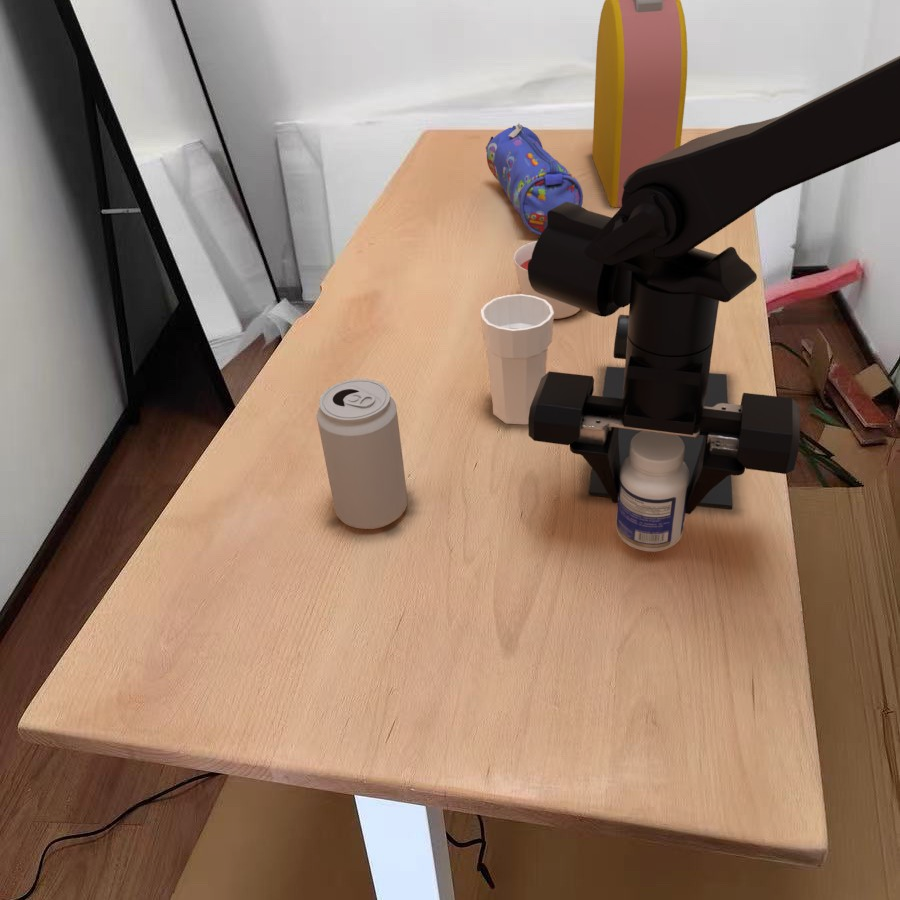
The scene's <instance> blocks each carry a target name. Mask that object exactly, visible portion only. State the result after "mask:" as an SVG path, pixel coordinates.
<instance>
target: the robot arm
mask: <svg viewBox="0 0 900 900" xmlns="http://www.w3.org/2000/svg"><path fill="white" fill-rule="evenodd" d="M898 143H900V55H898V56H897V57H895V58H893V59H891V60H888V61H886V62H884V63H882V64H880V65H879V66H876V67H874V68H873V69H871V70H869V71H867V72H865V73H863V74H861V75H859V76H857V77H855V78H853V79H851V80H849V81H846V82H845V83H843V84H840V85H839V86H837V87H835V88H833V89H831V90H829V91H827V92H825V93H823V94H821V95H819V96H817V97H815V98H813V99H811V100H809V101H808V102H805V103H803V104H801V105H799V106H797V107H795V108H793V109H791V110H790V111H787V112H786V113H784V114H781V115H780V116H775V117H772V118H769V119H765V120H761V121H758V122H752V123H746V124H740V125H736V126H732V127H729V128H726V129H723V130H719V131H716V132H712V133H708V134H704V135H701V136H698V137H696V138H693V139H691V140H689V141H687V142H685V143H684V144H682V145H680V147H678V148H676V149H674V150H672V151H670V152H669V153H667V154H665V155H663V156H661V157H659V158H657V159H656V160H654V161H652V162H650V163H648V164H646V165H644V166H643V167H641V168H639V169H637V170H636V171H634V172H633V173H632V174H631V175H630V176H629V177H628V178H627V180H626V181H625V183H624V184H623V189H624V191H623V196H622V207H619V209H618V210H617V211H616V212H615V214H614V215H613V216H612V217H611V216H608V215H604V214H601V213H597V212H594V211H590V210H588V209H586V208H585V207H583V206H582V207H581V206H579V205H576V204H573V203H569V202H564V203H562V204H561V205H559V206H557V207H555V208H553V209H551V210H549V211H548V212H547V227H546V228H545V229H544V231H543V232H542V233H541V235H538V238H537V240H536V241H537V242H536V244H535V247H534V250H533V253H532V258H531V260H530V261H529V262H528V278H529V282H530V285H531V287H532V288H533V289H534V291H536V292H537V293H539V294H542V295H545V296H547V297H550V298H553V299H555V300H558V301H561V302H563V303H566V304H569V305H572V306H574V307H577V308H580V310H582V311H585V312H588V313H591V314H593V315H596V316H598V317H605V318H606V317H609V316H611V315H613V314H615V313H617V311H618V310H619V309H621V308H625V307H627V306H629V307H628V308H629V309H628V314H619V316H618V317H617V324H616V329H615V337H614V345H613V357H614V359H620V360H625V362H624V363H625V364H624V368H625V375H624V389H623V399H619V398H611V397H602V396H603V395H602V396H600V395H593V394H594V391H595V379H594V376H593V375H587V374H586V375H585V374H578V373H577V374H576V373H568V372H558V371H550V370H549V371H548V372H546V375H545V376H543V377H542V378H541V381H540V383H539V386H538V388H537V391H536V393H535V396H534V399H533V401H532V404H531V406H530V411H529V418H528V424H527V425H528V437H530V438H531V439H532V440H533V441H534V442H540V443H546V444H547V443H548V444H556V445H563V446H569V451H570V452H571V453H572V454H575V455H580V456H582V458H583V459H584V460H585V461H586V462H587V464H589V466H590V467H591V470H592V469H593V470H594V471H595V473H596V474H597V475H598V477H599V479H600V480H601V482H602V484H603V486H604V488H605V490H606V491H607V493H608V495H609V497H608V498H609V499H610V500H611V502H612V504H618V490H619V475H620V455H619V438H618V432H619V428H624V429H632V430H640V431H648V432H656V433H664V434H672V435H680V436H688V437H699V435H704V437H703V441H702V445H701V449H700V452H699V455H698V459H697V462H696V465H695V468H694V472H693V475H692V478H691V481H690V485H689V491H688V497H687V501H686V507H685V515H691V513H693V511H694V510H695V509H696V508H697V505H698V504H699V503H700V502H701V500H702V499H703V498H704V497H705V496H706V495H707V494H708V492H709V491H710V490H711V489H713V488H714V487H715V486H716V485H718V484H719V483H720V482H721V481H722V480H724V479H725V478H726V477H727V476H729V475H731V476H742V475H743V474H745V471H746V470H751V471H759V472H768V473H775V474H782V475H786V474H789V473H790V472H793V471H795V467H796V463H797V459H798V455H799V451H800V450H799V448H800V441H801V436H800V435H801V432H800V431H801V429H800V428H801V427H800V424H801V423H800V406H799V405H798V404H797V402H796V401H795V400H794V398H793V397H786V396H778V395H768V394H760V393H750V392H743V393H742V396H741V401H740V404H735V403H728V404H727V403H719V404H716V405H715V406H714V407H706V406H704V402H705V396H706V392H707V385H708V378H709V373H710V369H711V363H712V361H711V360H712V354H713V346H714V340H715V339H714V338H715V331H716V326H717V325H716V324H717V318H718V312H719V303H720V302H721V303H729V302H730V301H731V300H732V299H734V298H736V297H737V296H738V295H739V294H740V293H742V292H743V291H744V290H746V289H747V288H749V287H750V286H751V285H752V284H754V283H755V282H756V281H757V280H758V275H757V272H756V271H755V270H754V269H753V268H752V267H751V266H750V265H749V264H748V262H746V261H745V260H743V259H742V258H741V257H740V255H739V254H738V252H737V250H736V248H735V247H734V246H728V247H727V248H726V249H724V250H723V251H721V252H720V253H713V252H709V251H706V250H703V249H700V248H696V247H698V246H699V245H700V244H702V243H704V242H705V241H706V240H708V239H709V238H711V237H713V236H714V235H716V234H717V233H719V232H720V231H722V230H723V229H724V228H726V227H727V226H729V225H731V224H732V223H734V222H735V221H737V220H738V219H740V218H741V217H743V216H744V215H746V214H747V213H749V212H750V211H752V210H753V209H755V208H756V207H758V206H759V205H761V204H762V203H764V202H765V201H767V200H769V199H770V198H771V197H773V196H774V195H777V194H779V193H781V192H784V191H786V190H789V189H791V188H793V187H795V186H798V185H801V184H803V183H805V182H807V181H810V180H813V179H815V178H818V177H819V176H822V175H824V174H827V173H829V172H832V171H835V170H836V169H838V168H840V167H843V166H846V165H848V164H850V163H853V162H855V161H858V160H860V159H862V158H864V157H865V158H866V157H867V156H869V155H871V154H875V153H877V152H879V151H881V150H883V149H886V148H888V147H891V146H893V145H895V144H898Z"/></svg>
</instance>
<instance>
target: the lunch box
mask: <svg viewBox="0 0 900 900" xmlns="http://www.w3.org/2000/svg"><path fill="white" fill-rule="evenodd" d="M683 8H684V7H683V5H682V1H681V0H604V2H603V5H602V9H601V12H600V16H599V17H600V18H599V23H598V31H597V39H596V41H597V42H596V56H595V57H596V58H595V79H594V80H595V81H594V85H595V86H594V104H593V105H594V107H593V127H592V129H593V131H592V154H591V155H592V160H593V162H594V165H595V168H596V170H597V174H598V176H599V179H600V181H601V185H602V187H603V190H604V193H605V195H606V198H607V202H608V204H609V206H610V207H611V208H621V207H622V196H623V191H624V189H623V184H624V183H625V181H626V180H627V178H628V177H629V176H630V175H631V174H632V173H633V172H634V171H636V170H637V169H639V168H641V167H643V166H644V165H646V164H648V163H650V162H652V161H654V160H656V159H657V158H659V157H661V156H663V155H665V154H667V153H669V152H670V151H672V150H674V149H676V148H678V147H680V146H682V145H681V143H682V133H683V124H684V114H685V105H686V97H687V96H686V95H687V81H688V33H687V25H686V19H685V18H686V17H685V13H684V9H683Z"/></svg>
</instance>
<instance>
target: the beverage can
mask: <svg viewBox="0 0 900 900" xmlns="http://www.w3.org/2000/svg"><path fill="white" fill-rule="evenodd" d="M318 400H319V401H318V406H319V408H318V409H317V413H316V421H317V426H318V430H319V436H320V441H321V446H322V452H323V456H324V457H323V458H324V462H325V467H326V472H327V477H328V482H329V487H330V493H331V498H332V503H333V509H334V512H335V514H336V517H337V518H338V519H339V520H340V521H341V522H342V523H343V524H345V525H346V526H349V527H351V528H355V529H363V530H375V529H379V528H383V527H387V526H388V525H390V524H392V523H393V522H395V521H397V520H398V519H399V518H400V517H401V516H402V515H403V514H404V512H405V511H406V509H407V506H408V500H409V499H408V489H407V482H406V481H407V480H406V474H405V465H404V457H403V450H402V449H403V448H402V442H401V434H400V433H401V432H400V426H399V425H400V424H399V418H398V416H399V415H398V408H397V404H396V403H397V402H396V401H395V400H394V398H392V396H391V391H390V390H389V388H388V387H387V386H386V385H384V384H383V383H382V382H380V381H378V380H374V379H370V378H351V379H346V380H343V381H340V382H337V383H335V384H333V385H331V386H329V387H328V388H327V389H325V390H324V391H323V392H322V394H321V395H320V397H319V399H318Z"/></svg>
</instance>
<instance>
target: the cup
mask: <svg viewBox="0 0 900 900" xmlns="http://www.w3.org/2000/svg"><path fill="white" fill-rule="evenodd" d="M480 317H481V327H482V337H483V343H484V344H483V345H484V347H485V349H486V355H487V365H488V374H489V384H490V385H489V386H490V393H491V401H492V414H493V415H494V416H495V417H497V419H498V420H500V421H502V422H503V423H504V424H506V425H507V424H509V425H526V426H527V425H528V418H529V411H530V406H531V404H532V401H533V399H534V396H535V393H536V391H537V388H538V386H539V383H540V381H541V378H542V377H543V376H545V375H546V374H547V366H548V365H547V364H548V351H549V349H548V348H549V347H550V345H551V343H552V342H553V333H554V332H553V331H554V319H553V318H554V312H553V309H552V306H551V305H550V304H549V303H548V302H547V301H546V300H544V299H541V298H539V297H536V296H531V295H524V294H521V293H517V294H516V293H515V294H507V295H503V296H499V297H494V298H492V300H490V301H488V302H486V303H485V305H484V306H483V307H482V308H481V310H480Z"/></svg>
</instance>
